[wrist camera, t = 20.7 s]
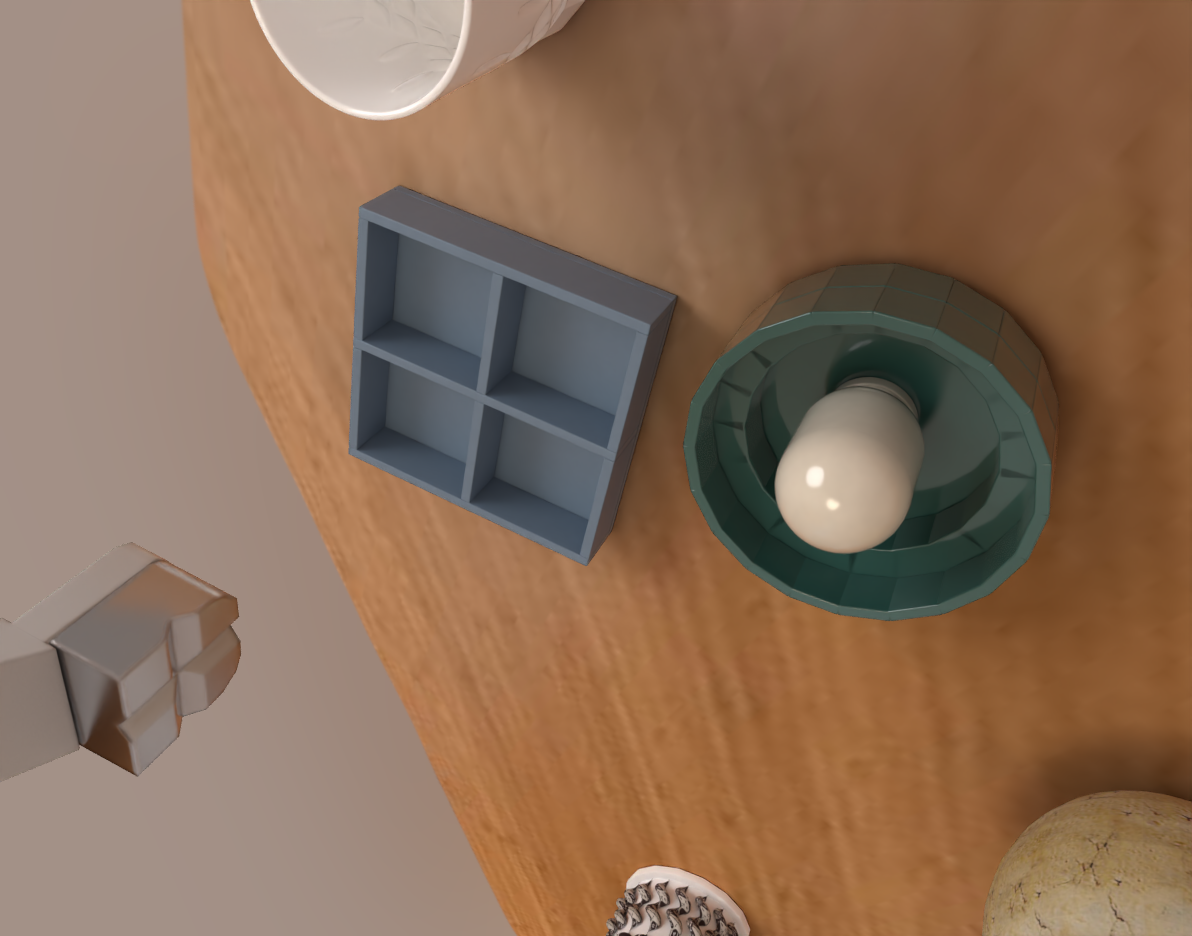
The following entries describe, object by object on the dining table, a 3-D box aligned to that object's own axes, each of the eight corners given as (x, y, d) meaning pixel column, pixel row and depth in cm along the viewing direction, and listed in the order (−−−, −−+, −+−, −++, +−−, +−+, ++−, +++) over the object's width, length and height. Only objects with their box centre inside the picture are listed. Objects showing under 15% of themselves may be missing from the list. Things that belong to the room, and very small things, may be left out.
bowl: (705, 264, 39) (660, 314, 35) (1066, 250, 33) (1058, 308, 29) (743, 532, 45) (708, 599, 42) (1052, 560, 40) (1044, 640, 36)
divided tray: (398, 184, 43) (358, 206, 41) (677, 295, 40) (651, 325, 38) (382, 425, 52) (347, 454, 49) (611, 531, 49) (586, 567, 46)
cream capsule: (806, 361, 39) (750, 459, 33) (933, 362, 37) (897, 467, 31) (816, 465, 41) (765, 573, 35) (936, 472, 39) (902, 588, 33)
